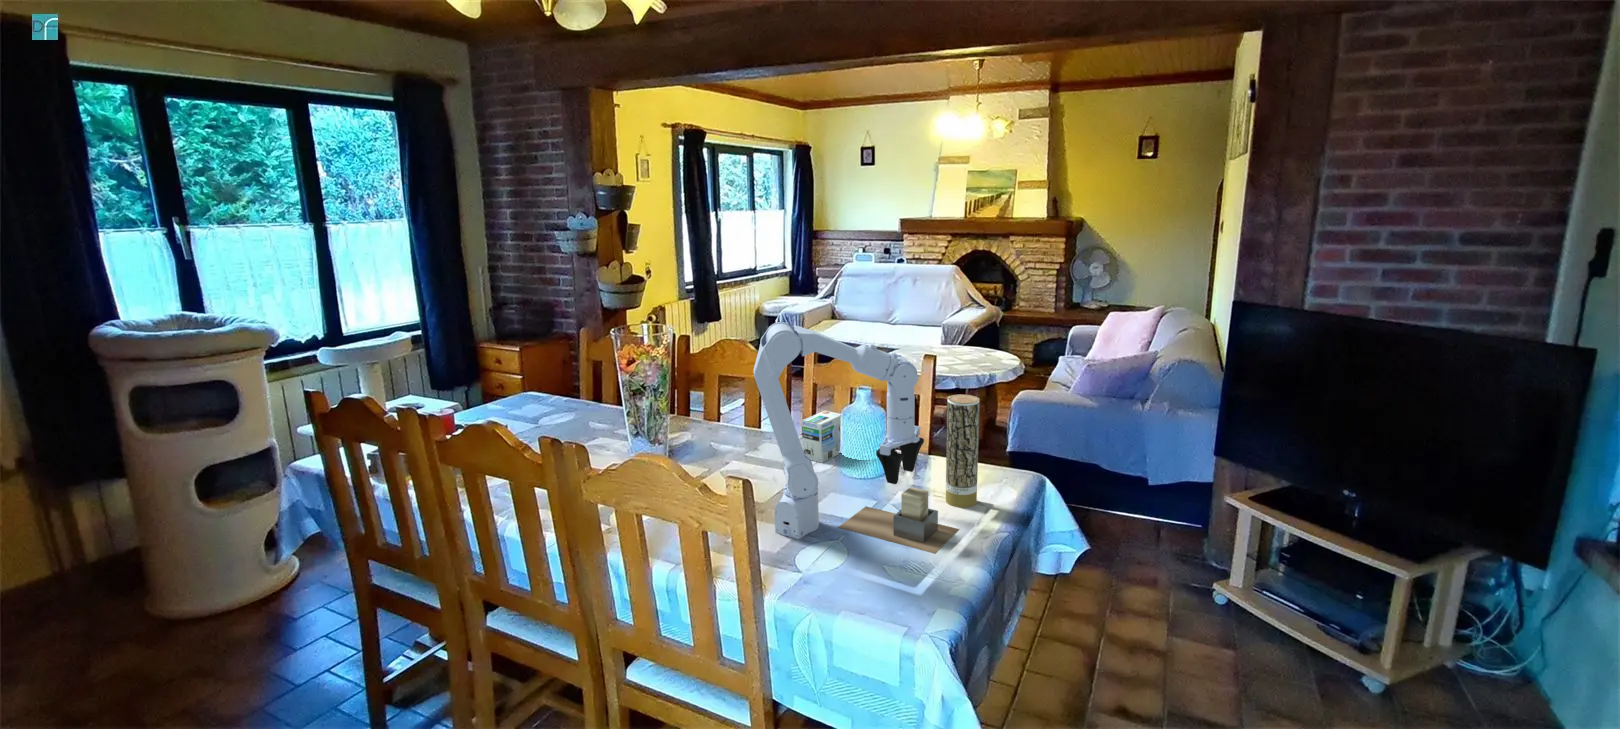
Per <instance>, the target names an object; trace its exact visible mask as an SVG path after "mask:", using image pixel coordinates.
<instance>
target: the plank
mask: <svg viewBox="0 0 1620 729" xmlns="http://www.w3.org/2000/svg"><path fill="white" fill-rule="evenodd" d="M896 513H897V512H896ZM896 513H895V512H890V511H887V510H882V509H878V508H874V507H870V506H866V505H865V506H864V507H863V508H862V509H861V510H859V511H858V512H856V513H855V514H853V515H852V516H851V517H849V518H848V519H847V520H846V521H844V522H843V523H841V525H839V526H837V529H840V530H841V529H842V530H846V531H849V532H853V533H857V534H860V535H864V536H867V537H872V538H875V539H879V540H883V541H886V542H891V543H894V544H897V545H901V546H906V547H909V548H911V549H912V548H913V549H916V550H920V551H923V552H928V553H931V554H936V553H938V552H939V550H941V548H942V547H943V546H945V544H947V542H949V540H951V538H953V536H955V534H956V533H958V532H959V530H960V528H956V527H952V526H949V525H945V524H940V523H938V530H937V531H936V532H935V533H934V534H933V535H932V536H931V537H930V538H929V539H928V540H927V541H926V542H925V543H921V542H917V541H913V540H909V539H905V538H901V537H898V536H894V535H893V516H894V515H895V514H896Z"/></svg>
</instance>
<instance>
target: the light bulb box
mask: <svg viewBox="0 0 1620 729" xmlns="http://www.w3.org/2000/svg"><path fill="white" fill-rule="evenodd" d="M841 414H842V413H839V412H833V411H829V410H822V411H820V412H818V413H815V414H813V415H811V416H809V417H807V418H805V419H802V420H801V429H802V430H801V432H802V449H803V452H804V454H805V455H806V456H807V457H809V459H810V460H811V461H814V462H816V463H821V464H822V463H824V462H826V461H828V460H831V459H833V458H835V457H837V456H838V455H840V454H839V451H840V415H841Z"/></svg>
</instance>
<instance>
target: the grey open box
mask: <svg viewBox="0 0 1620 729" xmlns="http://www.w3.org/2000/svg"><path fill="white" fill-rule="evenodd" d="M938 524H939V510H936V509H932V508H929V507H928V517H927V518H926V519H925V520H924V521H918V520H914V519H910V518H906V517H902V508H901V509H900V510H899V511H898V512H896V514H895V515H894V516H893V535H894V536H898V537H901V538H905V539H909V540H913V541H917V542H921V543H925V542H926V541H927V540H928V539H929V538H930V537H931V536H932V535H933V534H934V533H935V532H936V531H937V530H938Z"/></svg>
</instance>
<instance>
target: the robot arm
mask: <svg viewBox="0 0 1620 729" xmlns="http://www.w3.org/2000/svg"><path fill="white" fill-rule="evenodd" d="M793 327H794V328H793ZM759 342H760V344H759V348H758V352H757V355H756V358H755V363H754V366H753V369H752V370H753V377H754V380H755V383H756V386H757V388H758V391H759V394H760V397H761V400H762V402H763V406H764V409H765V411H766V413H767V414H766V415H767V417H768V420H769V423H770V426H771V428H772V431H773V434H774V437H775V440H776V443H777V446H778V448H779V451H780V453H781V458H782V460H783V467H782V471H783V474H784V476H785V480H786V482H785V485H784V487H783V488H782V489H783V493H782V497H781V499H780V500H779V501H778V502H777V503H776V505H775V507H774V530H775V531H774V533H775V534H778V535H782V536H785V537H789V538H792V539H796V540H800V539H802V538H803V537H805V536H806V535H808V534H810V533H812V532H814V531H816V530H818V528H819V527H820V515H819V512H820V511H819V488H818V486H819V478H818V475H817V474H816V472H815V469H814V466H813V462H812V460H810V459H809V457H807V456H806V455H805V454H804V452H803V445H802V443H801V441H800V437H799V435H798V432H797V429H796V426H795V423H794V420H793V416H792V414H791V411H790V409H789V406H788V403H787V400H786V397H785V393H784V391H783V388H782V385H781V383H780V379H779V378H780V376H781V375H782V372H783V371H784V369H785V367H786V366H788V365H789V364H790V363H791V362H793V361H794V360H795V359H796V358H797V357H798V356H799V355H801V357H806V356H808V355H810V354H813V353H818V354H821V355H824V356H827V357H831V358H834V359H837V360H840V361H844V362H845V363H846V362H847V363H850V365H851V368H852V370H853V371H854V372H856V373H858V374H862V375H865V376H868V377H870V378H873V379H875V380H879V381H881V382H886V381H887V382H886V384H887V385H886V386H887V388H886V390H887V392H886V434H885V436H884V439H883V442H882V443H881V444H880V445H879V448H878V449H877V450H876V453H875V454H876V457H877V458H878V460H879V462H880V464H881V466H882V468H883V473H884V476H885V479H886V483H887V484H892V485H897V484H898V482H899V477H900V468H901V465H902V469H903V471H905V472H909V473H913V472H914V471H915V467H916V463H917V459H918V455H919V452H920V451H921V448H922V446H923V444H924V442H925V440H924V438H923V437H919V436H920V435H921V427H920V426H919V425H915V424H916V423H915V422H916V421H915V420H916V419H915V418H916V417H915V415H916V414H915V413H916V412H915V410H916V409H915V408H916V406H915V404H916V403H915V400H916V398H915V396H916V395H915V387H916V385H917V383H918V381H919V378H920V375H919V374H918V370H917V368H916V366H915V365H914V364H913V363H912V362H911V361H909V360H908V359H907V358H905V357H903V356H902V355H901V354H897V353H896V352H891V353H889V352H886V351H883V350H880V349H879V348H878V346H877V345H875V344H873V343H869V344H868V345H867V344H861V345H859V346H857V347H856V346H855V347H854V346H853V345H852V346H851V345H848V344H846V343H844V342H841V341H839V340H836V339H834V338H831V337H829V336H827V335H824V334H822V333H819V332H816V331H815V330H812V329H808V328H806V327H801V326H800V325H795V324H794V325H793V326H792V325H791V324H789V323H788V322H783V321H778V322H774V323H772V324H771V325H770V326H768V327H767V329H766V331H765V332H764V333H763V335H762V336H761V338H760V341H759ZM897 448H899V450H900V452H898V451H897V450H896V449H897Z"/></svg>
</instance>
